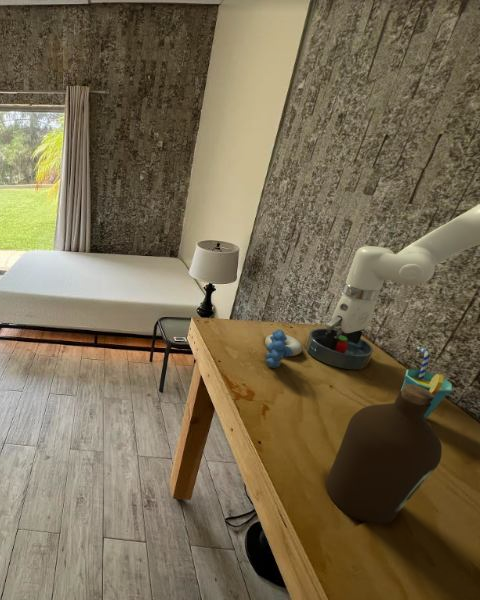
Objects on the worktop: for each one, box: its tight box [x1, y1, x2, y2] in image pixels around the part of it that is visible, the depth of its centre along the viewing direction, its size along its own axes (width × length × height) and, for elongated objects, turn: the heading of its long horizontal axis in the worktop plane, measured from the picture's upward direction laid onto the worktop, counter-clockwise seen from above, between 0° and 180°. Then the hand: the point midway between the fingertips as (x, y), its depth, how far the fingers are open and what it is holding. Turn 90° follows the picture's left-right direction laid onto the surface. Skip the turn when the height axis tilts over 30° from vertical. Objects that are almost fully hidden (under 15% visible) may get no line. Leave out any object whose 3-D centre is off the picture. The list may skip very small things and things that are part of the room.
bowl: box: [304, 327, 375, 370], centre depth 95 cm, size 15×15×5 cm
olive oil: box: [325, 384, 443, 524], centre depth 51 cm, size 11×11×25 cm
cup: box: [400, 346, 453, 420], centre depth 72 cm, size 14×8×15 cm, turn 156°
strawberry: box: [334, 335, 348, 353], centre depth 95 cm, size 4×4×6 cm
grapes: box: [265, 329, 293, 368], centre depth 89 cm, size 12×7×12 cm, turn 152°
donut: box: [264, 333, 303, 357], centre depth 99 cm, size 10×3×10 cm
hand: (340, 344), depth 94 cm, fingers open, 9 cm apart
